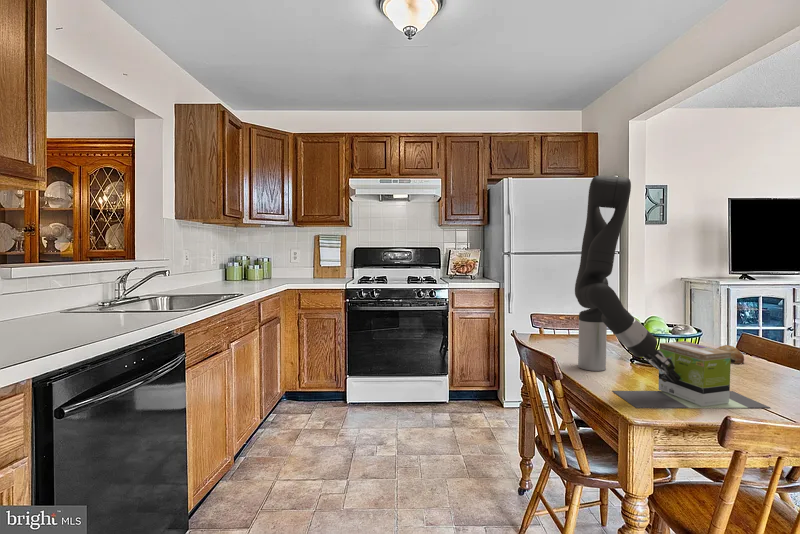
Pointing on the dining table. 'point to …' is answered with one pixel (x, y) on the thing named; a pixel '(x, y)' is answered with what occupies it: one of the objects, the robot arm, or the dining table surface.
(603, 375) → the dining table surface
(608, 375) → the dining table surface
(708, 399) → the tea box
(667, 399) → the mat
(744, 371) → the dining table surface
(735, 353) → the bread roll
